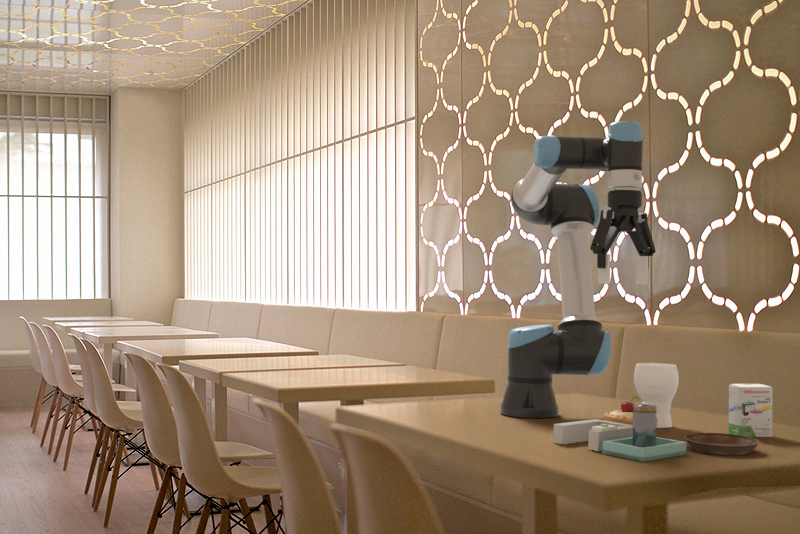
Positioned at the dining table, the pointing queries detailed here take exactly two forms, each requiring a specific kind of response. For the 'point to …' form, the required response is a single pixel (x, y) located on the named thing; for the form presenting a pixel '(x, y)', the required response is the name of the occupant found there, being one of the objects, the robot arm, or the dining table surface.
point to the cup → (657, 388)
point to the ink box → (750, 410)
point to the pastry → (623, 414)
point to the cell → (644, 425)
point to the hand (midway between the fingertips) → (623, 284)
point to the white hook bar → (591, 432)
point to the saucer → (721, 443)
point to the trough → (644, 449)
